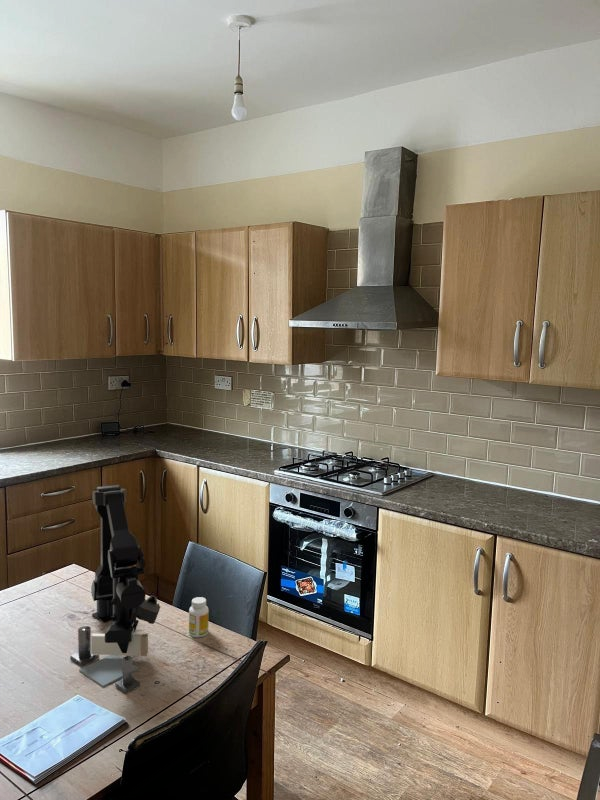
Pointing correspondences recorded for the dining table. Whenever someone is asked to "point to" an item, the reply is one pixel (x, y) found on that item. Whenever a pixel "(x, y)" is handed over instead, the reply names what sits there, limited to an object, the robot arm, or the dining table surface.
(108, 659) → the doorway mat
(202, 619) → the supplement bottle
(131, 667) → the gate posts
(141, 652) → the gate
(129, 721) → the dining table surface
